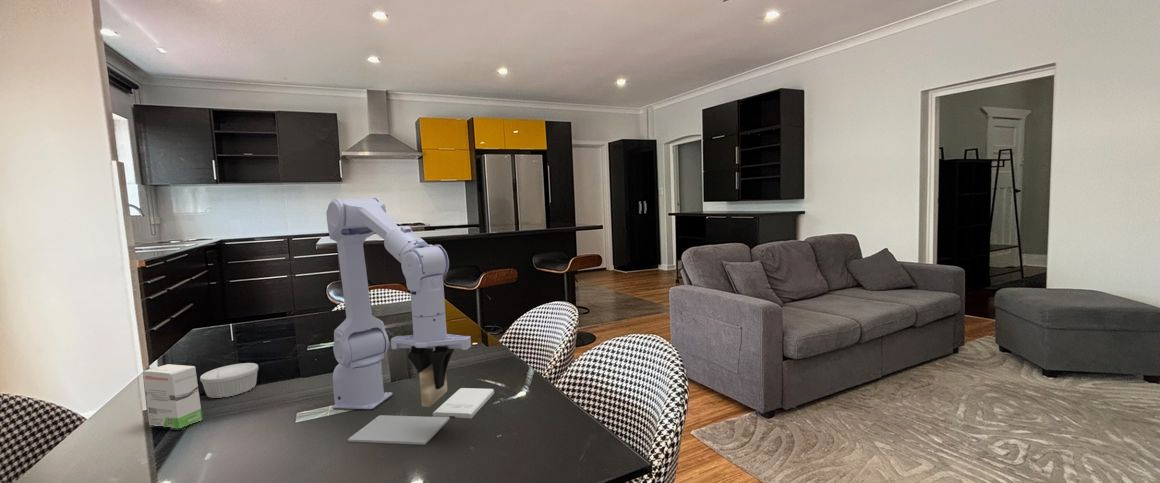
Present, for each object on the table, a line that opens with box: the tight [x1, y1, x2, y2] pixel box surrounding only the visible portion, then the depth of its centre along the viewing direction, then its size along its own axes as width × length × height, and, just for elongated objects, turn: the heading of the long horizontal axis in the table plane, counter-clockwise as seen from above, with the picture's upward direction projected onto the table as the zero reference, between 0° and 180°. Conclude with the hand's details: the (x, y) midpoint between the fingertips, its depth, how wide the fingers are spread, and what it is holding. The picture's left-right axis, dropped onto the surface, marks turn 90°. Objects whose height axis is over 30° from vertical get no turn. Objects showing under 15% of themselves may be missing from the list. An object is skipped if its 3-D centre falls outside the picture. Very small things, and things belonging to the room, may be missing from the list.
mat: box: [347, 414, 451, 446], centre depth 91 cm, size 15×10×1 cm, turn 80°
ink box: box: [142, 363, 203, 429], centre depth 99 cm, size 9×5×12 cm, turn 73°
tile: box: [418, 364, 448, 407], centre depth 89 cm, size 2×7×6 cm, turn 170°
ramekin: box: [199, 362, 259, 399], centre depth 116 cm, size 11×11×5 cm
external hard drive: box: [432, 387, 495, 419], centre depth 102 cm, size 2×8×12 cm
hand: (434, 387), depth 89 cm, fingers closed on tile, 2 cm apart
